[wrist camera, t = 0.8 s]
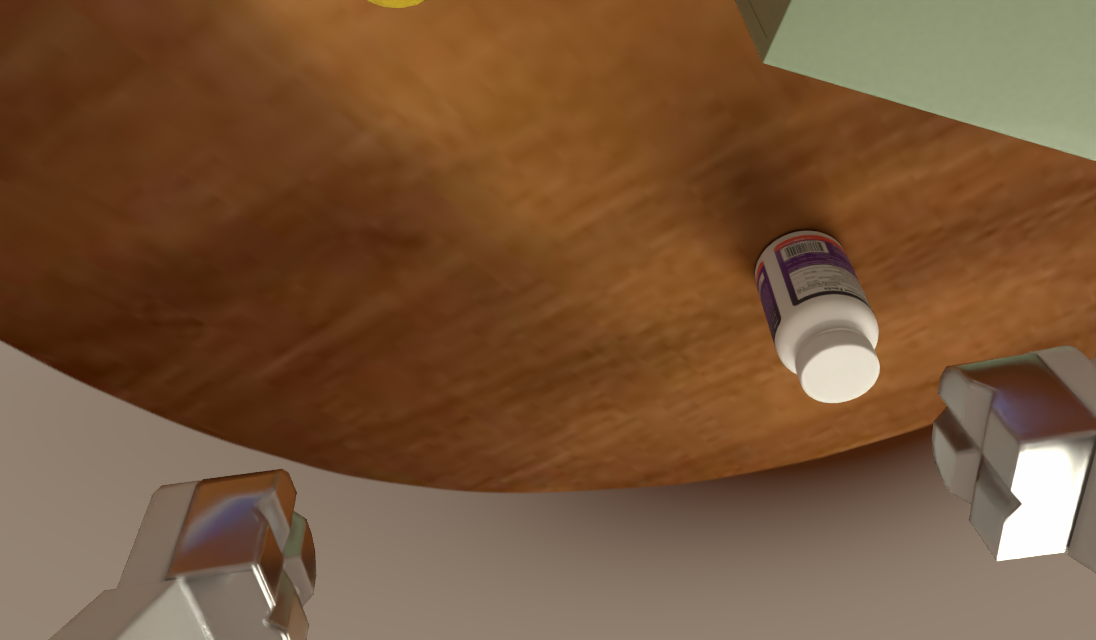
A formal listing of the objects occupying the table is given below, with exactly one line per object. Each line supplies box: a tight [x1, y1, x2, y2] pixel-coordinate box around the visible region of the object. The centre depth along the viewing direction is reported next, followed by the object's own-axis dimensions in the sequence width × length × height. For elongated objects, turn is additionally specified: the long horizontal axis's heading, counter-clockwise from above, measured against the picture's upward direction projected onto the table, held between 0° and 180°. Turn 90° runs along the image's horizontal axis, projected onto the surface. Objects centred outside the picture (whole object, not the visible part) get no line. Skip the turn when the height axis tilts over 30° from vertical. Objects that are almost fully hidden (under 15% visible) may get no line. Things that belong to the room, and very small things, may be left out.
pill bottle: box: [755, 231, 880, 403], centre depth 51 cm, size 5×5×10 cm
